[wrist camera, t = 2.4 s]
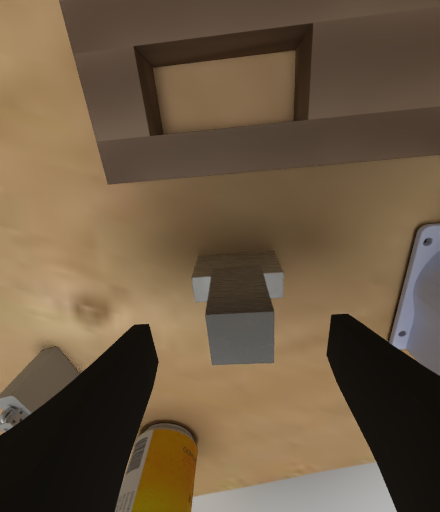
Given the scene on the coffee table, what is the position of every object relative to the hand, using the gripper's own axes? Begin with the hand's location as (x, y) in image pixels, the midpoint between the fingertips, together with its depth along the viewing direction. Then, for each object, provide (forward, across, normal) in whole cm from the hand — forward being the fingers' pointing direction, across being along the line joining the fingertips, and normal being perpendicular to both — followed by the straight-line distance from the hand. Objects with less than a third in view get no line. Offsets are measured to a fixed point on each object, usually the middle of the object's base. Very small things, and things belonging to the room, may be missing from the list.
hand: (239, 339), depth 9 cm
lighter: (+7, +15, +10) cm, 19 cm away
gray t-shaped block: (+7, 0, 0) cm, 7 cm away
